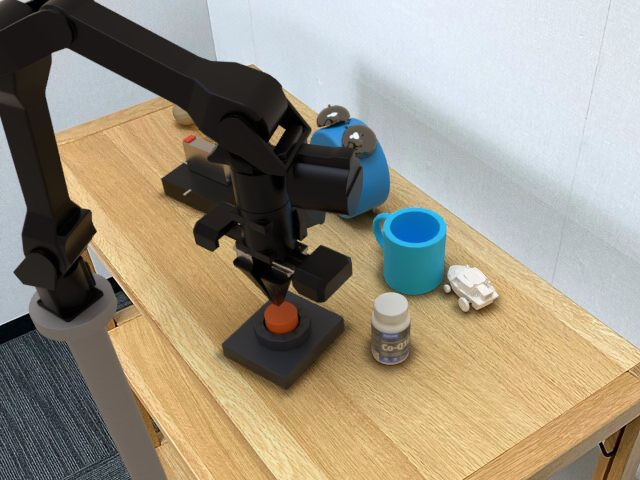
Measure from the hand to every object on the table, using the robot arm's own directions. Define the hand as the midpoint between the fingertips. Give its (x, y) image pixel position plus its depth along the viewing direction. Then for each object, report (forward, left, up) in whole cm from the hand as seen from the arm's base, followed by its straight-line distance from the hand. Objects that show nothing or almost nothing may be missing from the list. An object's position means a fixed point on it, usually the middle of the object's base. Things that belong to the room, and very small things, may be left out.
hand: (278, 303), depth 90 cm
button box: (0, 0, -7) cm, 7 cm away
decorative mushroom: (+32, +41, -7) cm, 52 cm away
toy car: (+20, -15, -7) cm, 26 cm away
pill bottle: (+6, -12, -7) cm, 15 cm away
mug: (+20, -5, -7) cm, 22 cm away
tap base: (+19, +29, -7) cm, 35 cm away
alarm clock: (+27, +9, -7) cm, 29 cm away
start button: (0, 0, -3) cm, 3 cm away
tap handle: (+19, +29, -4) cm, 35 cm away
